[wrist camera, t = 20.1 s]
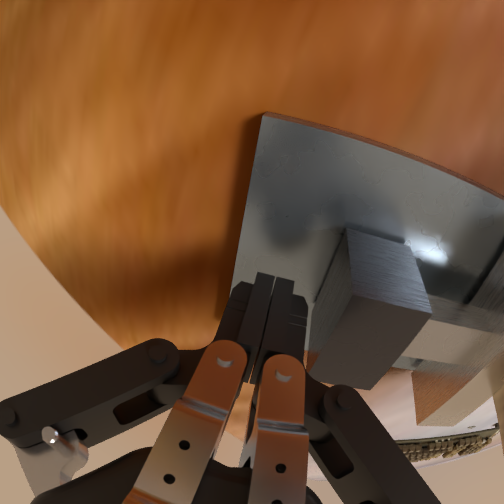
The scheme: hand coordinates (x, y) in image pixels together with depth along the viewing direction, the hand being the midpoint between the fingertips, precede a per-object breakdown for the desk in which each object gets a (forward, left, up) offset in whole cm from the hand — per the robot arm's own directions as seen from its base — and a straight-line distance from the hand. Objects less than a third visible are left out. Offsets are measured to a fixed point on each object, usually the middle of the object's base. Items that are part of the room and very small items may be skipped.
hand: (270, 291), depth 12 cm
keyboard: (+21, +23, -4) cm, 32 cm away
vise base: (0, +11, -3) cm, 11 cm away
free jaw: (0, +8, -2) cm, 8 cm away
